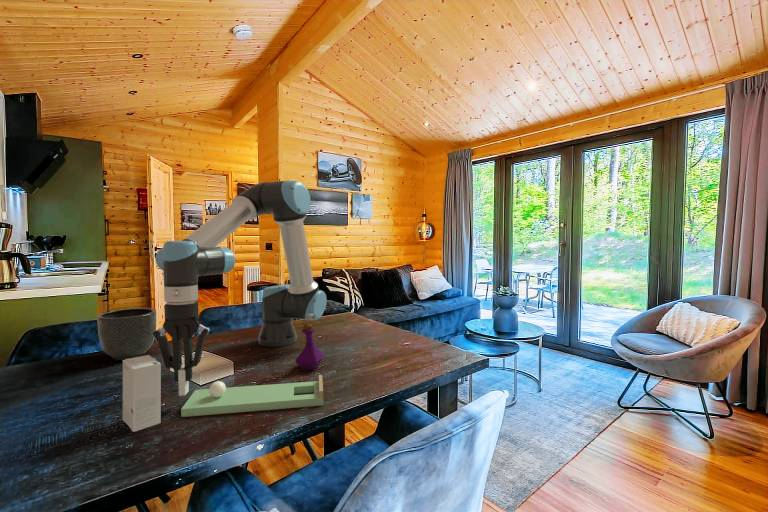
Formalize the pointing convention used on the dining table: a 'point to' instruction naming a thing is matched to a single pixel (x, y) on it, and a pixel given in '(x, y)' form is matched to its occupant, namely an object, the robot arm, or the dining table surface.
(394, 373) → the dining table surface
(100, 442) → the dining table surface
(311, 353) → the perfume bottle
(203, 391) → the green
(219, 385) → the ball
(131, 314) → the planter
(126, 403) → the skincare box
